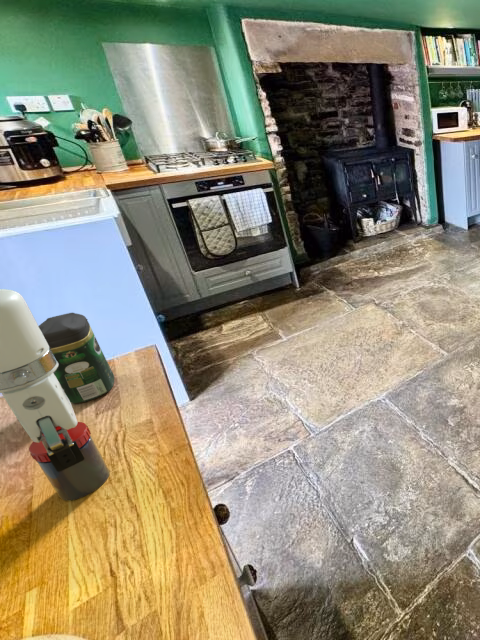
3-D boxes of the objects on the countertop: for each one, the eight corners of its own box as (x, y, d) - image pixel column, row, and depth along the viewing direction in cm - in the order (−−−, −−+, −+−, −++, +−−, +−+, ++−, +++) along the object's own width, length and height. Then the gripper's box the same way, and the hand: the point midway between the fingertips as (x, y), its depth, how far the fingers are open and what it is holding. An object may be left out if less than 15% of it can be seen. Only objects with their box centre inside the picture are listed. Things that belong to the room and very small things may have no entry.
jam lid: (94, 443, 68) (90, 435, 67) (36, 470, 63) (30, 461, 62) (87, 423, 72) (82, 415, 71) (31, 447, 67) (26, 439, 66)
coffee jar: (69, 386, 92) (33, 317, 85) (115, 371, 97) (85, 305, 90) (65, 410, 86) (25, 338, 78) (115, 393, 91) (82, 324, 83)
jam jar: (50, 506, 67) (21, 461, 63) (69, 474, 72) (44, 431, 68) (100, 492, 70) (76, 448, 65) (115, 462, 75) (94, 420, 71)
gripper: (63, 380, 59) (109, 466, 66) (46, 335, 68) (88, 414, 76) (-18, 410, 53) (42, 500, 60) (-24, 357, 63) (28, 440, 70)
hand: (67, 452), depth 68 cm, fingers closed on jam lid, 6 cm apart
